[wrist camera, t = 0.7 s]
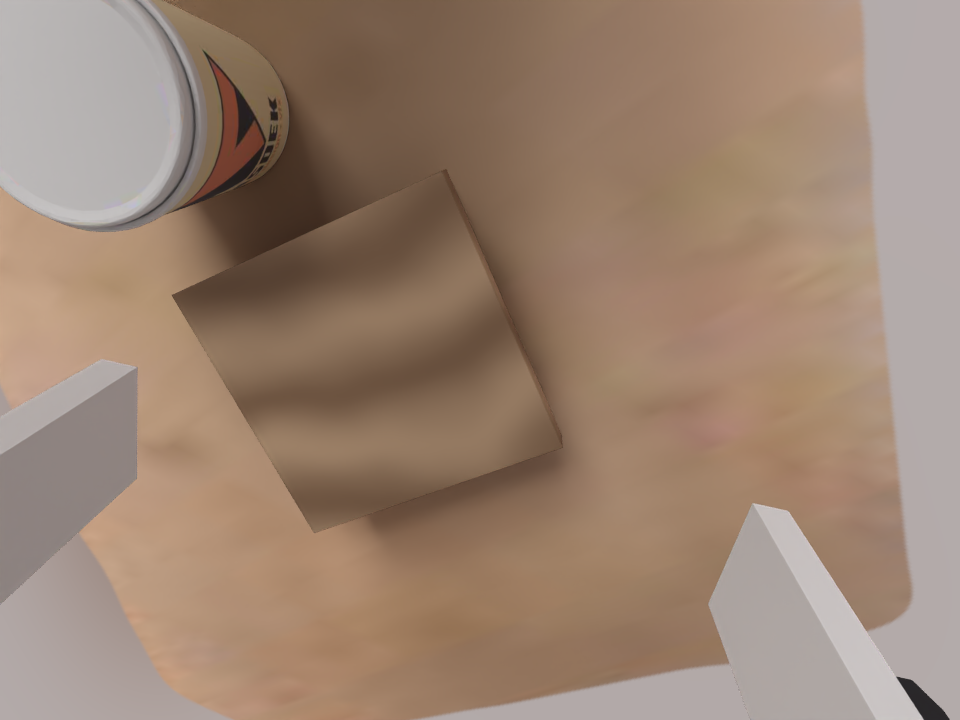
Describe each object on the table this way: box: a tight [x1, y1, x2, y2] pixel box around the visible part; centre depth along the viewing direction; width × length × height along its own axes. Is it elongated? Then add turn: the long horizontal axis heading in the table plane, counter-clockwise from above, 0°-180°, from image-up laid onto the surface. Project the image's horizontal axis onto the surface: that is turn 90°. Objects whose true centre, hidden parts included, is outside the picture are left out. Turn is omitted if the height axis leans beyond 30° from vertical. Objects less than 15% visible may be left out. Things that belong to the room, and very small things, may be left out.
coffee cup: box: [0, 0, 289, 232], centre depth 28 cm, size 9×9×12 cm
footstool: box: [172, 169, 563, 533], centre depth 35 cm, size 15×15×6 cm
